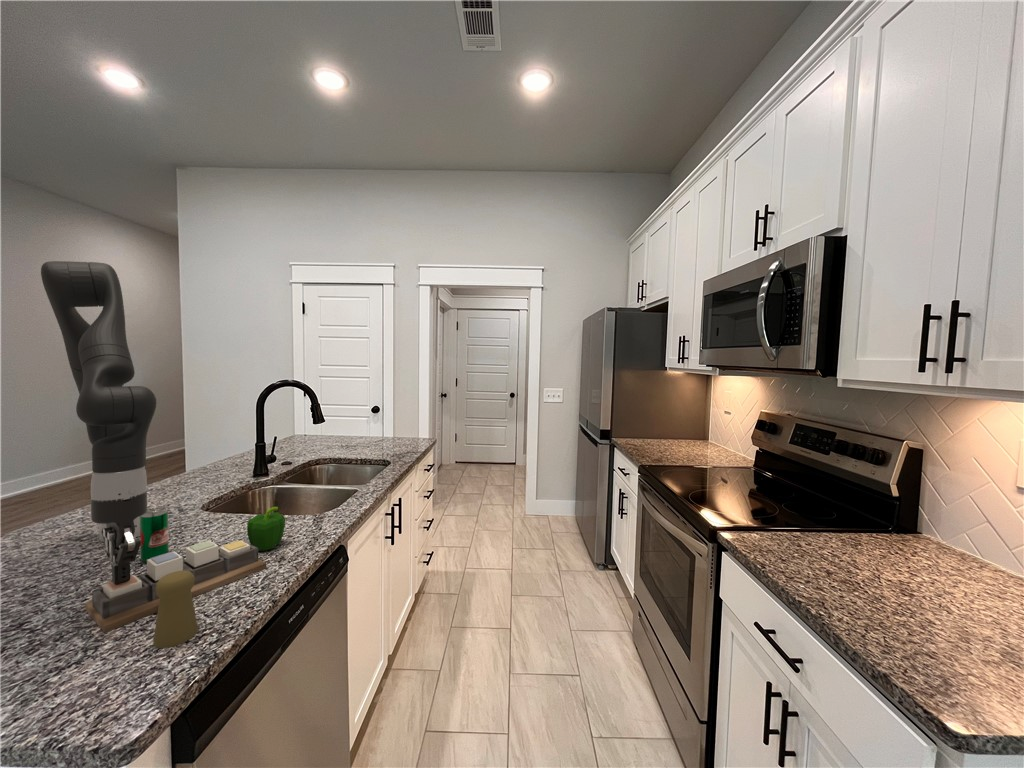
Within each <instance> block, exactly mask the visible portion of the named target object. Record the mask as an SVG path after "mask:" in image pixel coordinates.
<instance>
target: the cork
mask: <svg viewBox="0 0 1024 768" xmlns="http://www.w3.org/2000/svg"><path fill="white" fill-rule="evenodd" d="M194 581H195V578H194V575H193V574H192V573H191V572H190V571H185V570H182V571H175V572H172V573H169V574H167V575H165V576H163V577H162V578H161V579H159V581H158V582H157V584H156V587H155V592H156V594H157V596H158V597H159V598H160V600H159V607H158V612H156V613H157V614H156V621H155V622H156V623H155V628H154V632H153V633H154V634H153V640H152V645H153V647H155V648H157V649H166V648H172V647H176V646H179V645H181V644H183V643H185V642H187V641H189V640H191V639H192V638H194V637H195V636H196V634H197V633H198V631H199V625H198V622H197V621H198V620H197V615H196V610H195V605H194V600H193V598H192V594H191V589H192V587H193V585H194Z"/></svg>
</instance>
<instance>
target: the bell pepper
mask: <svg viewBox="0 0 1024 768" xmlns="http://www.w3.org/2000/svg"><path fill="white" fill-rule="evenodd" d="M278 510H279V507H278V506H273V507H269V508H268V509H267V510H266V511H265V514H260V513H259V514H256V515H255V516H254V517H253V518H249V519H248V521H247V524H246V531H247V537H248V540H249V544H251V545H253V546H255V547H257V548H258V552H264V551H265V552H266V551H269V550H273V548H275V547H276V546H277V545H279V544H280V543H281V541H282V540H283V536H284V532H285V529H286V518H285V516H284V515H283V514H281V513H280V512H278ZM273 511H274V512H273Z"/></svg>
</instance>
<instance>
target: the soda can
mask: <svg viewBox="0 0 1024 768" xmlns="http://www.w3.org/2000/svg"><path fill="white" fill-rule="evenodd" d="M139 539H140V540H141V544H140V547H139V549H140V552H139V553H140V555H139V556H140V560H141V562H143V563H146V564H147V560H148V559H151V558H153V557H156V556H159V555H163V554H166V553H169V552H170V549H169V547H170V545H169V541H170V540H169V511H168V510H167V507H166V506H161V505H160V506H152V507H149V508H148V507H147V511H146V513H145V514H143V515H142V516H140V536H139Z"/></svg>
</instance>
